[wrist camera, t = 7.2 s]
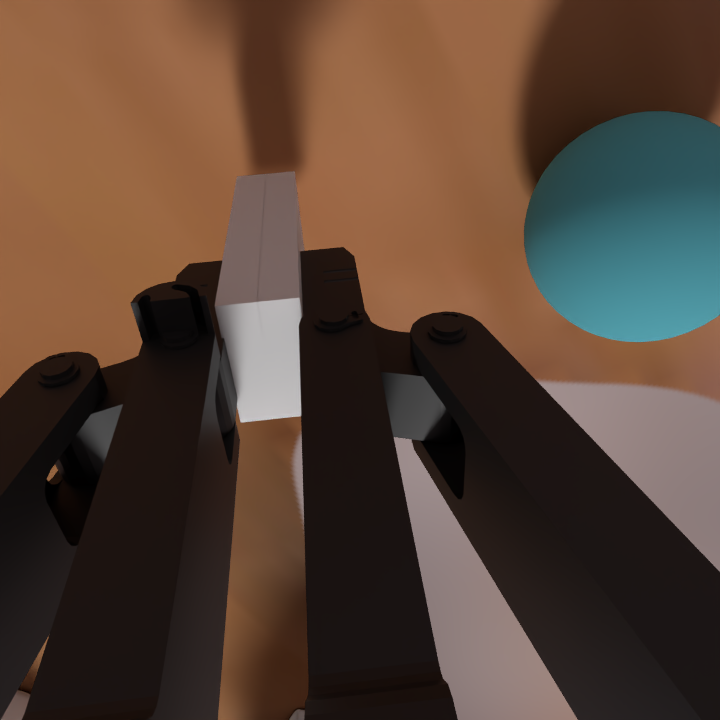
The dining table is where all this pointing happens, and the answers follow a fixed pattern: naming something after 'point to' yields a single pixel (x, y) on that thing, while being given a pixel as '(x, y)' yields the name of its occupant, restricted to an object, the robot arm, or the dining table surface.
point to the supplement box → (298, 715)
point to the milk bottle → (17, 706)
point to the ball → (631, 227)
